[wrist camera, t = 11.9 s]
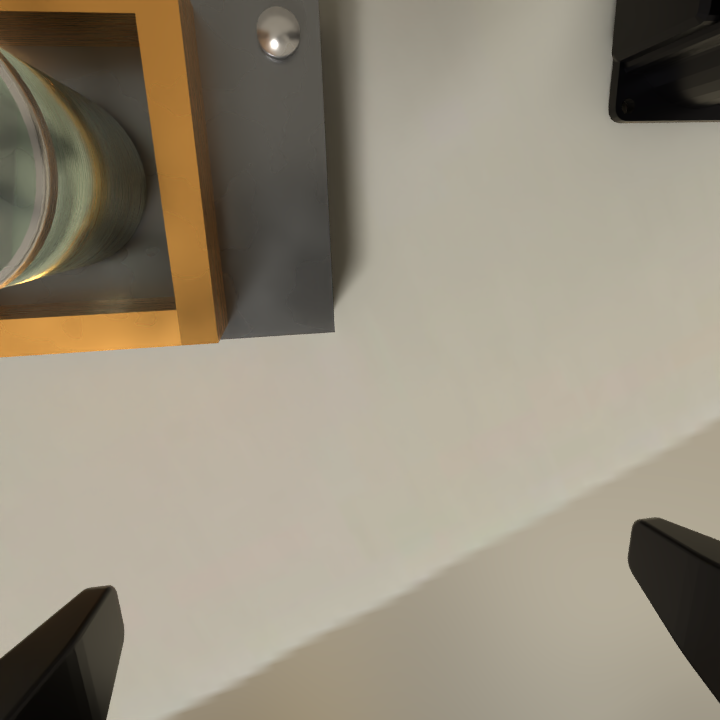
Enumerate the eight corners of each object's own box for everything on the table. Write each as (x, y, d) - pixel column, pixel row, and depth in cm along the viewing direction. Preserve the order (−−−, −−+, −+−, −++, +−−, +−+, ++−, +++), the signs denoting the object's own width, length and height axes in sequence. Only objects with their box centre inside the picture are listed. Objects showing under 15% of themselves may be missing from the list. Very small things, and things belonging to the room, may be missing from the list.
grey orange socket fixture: (313, 20, 16) (324, -58, 12) (328, 317, 19) (342, 351, 15) (-321, 11, 14) (-625, -91, 9) (-197, 349, 17) (-383, 402, 12)
